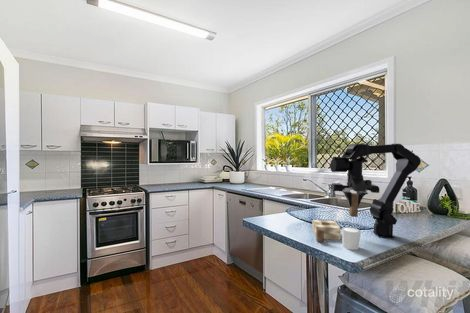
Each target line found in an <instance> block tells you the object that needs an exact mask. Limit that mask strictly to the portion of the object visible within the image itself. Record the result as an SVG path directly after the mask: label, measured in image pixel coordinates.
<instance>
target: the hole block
mask: <svg viewBox="0 0 470 313" xmlns="http://www.w3.org/2000/svg"><path fill="white" fill-rule="evenodd" d="M311 223H312V224H311V225H312V226H311V230H312V232H313V235H314V237H315V238H316V228H322V229H323V230H324V240H341V235H342V227H341V226H339V224H338V223H337V222H336V220H321V219H312V222H311Z"/></svg>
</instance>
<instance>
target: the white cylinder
mask: <svg viewBox="0 0 470 313" xmlns="http://www.w3.org/2000/svg"><path fill="white" fill-rule="evenodd" d="M361 233H362V231H361V229H359V228H356V227H352V226H351V227H350V226H344V227H341V239H342V247H343V248H344V247H345V248H344V249H346V248H347V250H350V249H351V250H352V251H357V250H359V246H360V240H361V239H360V238H361Z"/></svg>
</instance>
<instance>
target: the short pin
mask: <svg viewBox="0 0 470 313" xmlns="http://www.w3.org/2000/svg"><path fill="white" fill-rule="evenodd" d="M315 240H316V243H324V242H325V239H324V230H323V229H322V228H316V237H315Z"/></svg>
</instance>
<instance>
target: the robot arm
mask: <svg viewBox="0 0 470 313" xmlns="http://www.w3.org/2000/svg"><path fill="white" fill-rule="evenodd" d="M389 153H391V155H392V157H393V158H394V159H395V161H396V162H395V172H394V174H393V176H392V177H391V179H390V181H389V182H388V184H387V186H386V188H385V190H384V191H383V193H382V195H381V197H380V198H378V199H376V198H374V199H373V200H372V203H371V204H370V205H369V212H370V214H371V216H372V218H373V220H374V223H373V231H372V232H373V233H374V235H376V236H377V237H379V238H388V239H389V238H391V239H393V238H396V237H395V236H394V234H393V233H394V225H396V224H397V222H398V219H397V218H396V217H395V216H394V215H393V212H394V202H395V200H396V198H397V196H398V195H399V193H400V191H401V189H402V187H403V185H404V184H405V182H406V181H407V178H408V177H409V175H410V174H412V173H414V172H415V171H417V169H418V168H419V166H420V165H421V163H422V160H421V158H420V157H419V156H418V155H417V154H416V153H414V151H411V150H409V149H408V148H406V147H405V146H404V145H403V144H402V143H389V144H371V145H370V144H364V143H350V144H348V146H347V147H346V150H345V152H344V153H343V154H341V155H342V156H332V159H331V161H330V163H329V169H330V171H331V172H332V173H346V172H347V173H346V176H347V182H346V184H345V185H344V184H342V183H340V182H338V183H335V182H332V183H331V185H330V189H331V190H332V191H333V192H342V193H343V194H344V195H345V198H346V201H347V203H348V206H349V208H350V207H351V194H352V193H353V192H356V193H357V194H358V207H359V205H360V203H361V202H362V200H363V198H364V197H365V196H366V195H369V192H368V191H370V192H371V193H374V194H375V193H376V194H377V193H378V194H379V193H380V187H379V186H378V185H376V184H373V182H372V180H371V179H364V175H363V163H368V162H369V160H368V159H366V158H365V157H366V156H367V157H368V156H369V155H372V154H373V155H375V154H389ZM351 191H353V192H351Z"/></svg>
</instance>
